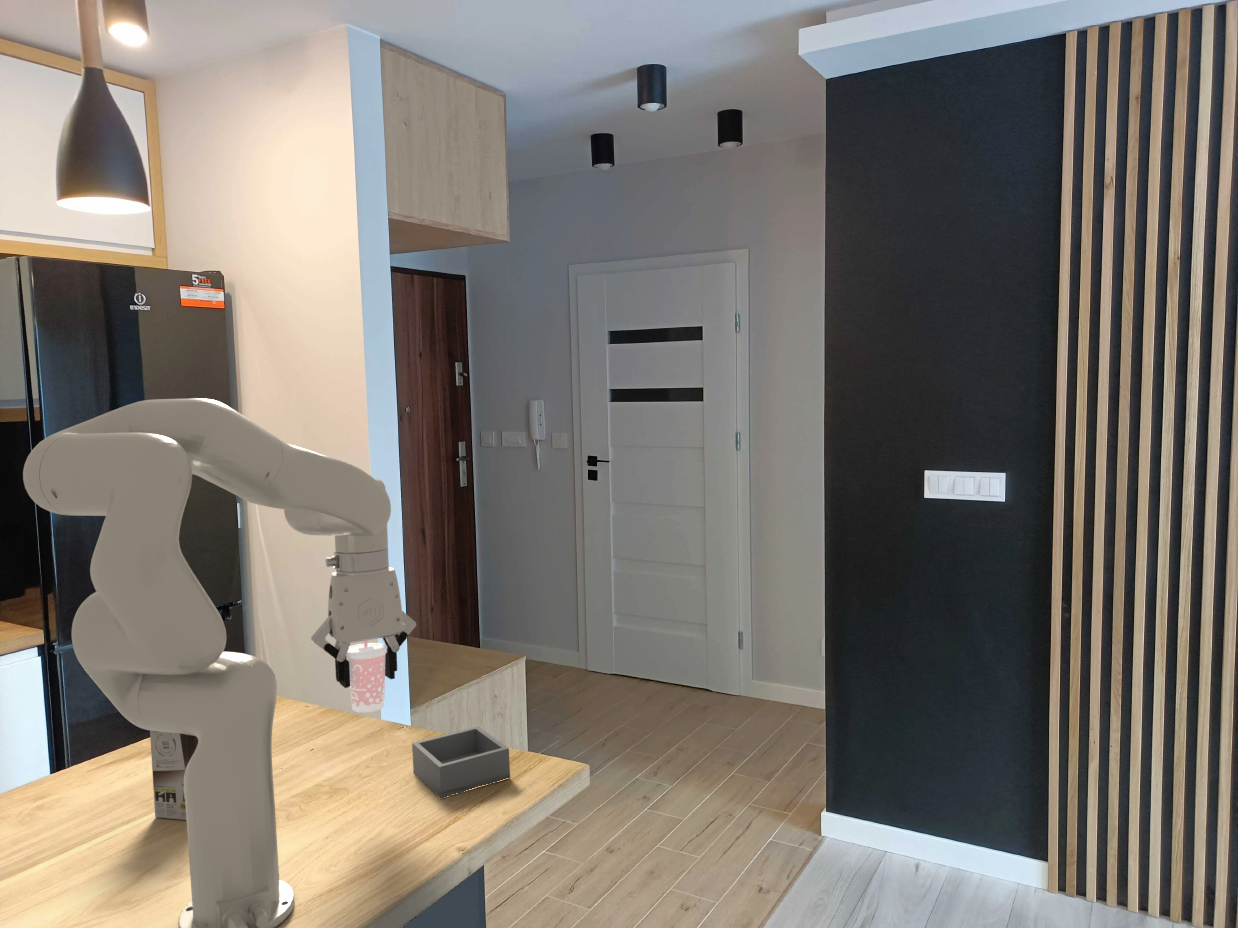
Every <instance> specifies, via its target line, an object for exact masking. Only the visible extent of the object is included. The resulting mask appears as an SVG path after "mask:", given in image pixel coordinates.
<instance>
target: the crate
mask: <svg viewBox="0 0 1238 928" xmlns="http://www.w3.org/2000/svg"><path fill="white" fill-rule="evenodd" d="M411 748H412V768H413V770H412V771H413V774H414V775H415V776H416V777H417V778H418V779H419V780H420V781H422V782H423V783H424V784H425V785H426V786H427V787H428V789H429V790H431V789H432V790H431V791H432V792H433V791H434V792H433V793H434V794H435V793H436V794H437V795H438V796H439V797H440V798H443V799H445V798H444V797H446V798H448V797H447V796H450V795H452V794H456V793H460V794H462V793H461V792H464V791H466V790H469V789H472V788H475V787H478V786H482V785H486V784H490V783H493V782H497V781H500V780H503V779H506V778H509V777H510V778H511V772H510V771H511V769H510V768H511V767H510V747H508V746H506V745H505V744H503V743H502V742H501V741H499V740H498V739H496V738H495V737H494V736H492V735H491V734H489V733H488V732H487V731H486V730H484V729H483V728H481V727H480V726H475V727H470V728H467V729H466V728H465V729H462V730H459V731H455V732H451V733H446V734H443V735H438V736H434V737H430V738H426V739H423V740H422V739H421V740H418V741H414V742H411ZM464 793H465V792H464ZM436 794H435V795H436ZM437 795H436V796H437ZM438 796H437V797H438ZM439 797H438V798H439ZM450 797H451V796H450ZM440 798H439V799H440Z"/></svg>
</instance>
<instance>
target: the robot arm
mask: <svg viewBox="0 0 1238 928" xmlns="http://www.w3.org/2000/svg"><path fill="white" fill-rule="evenodd" d="M22 475H23V476H22V478H23V479H22V480H23V485H24V489H25V490H26V492H27V494H28V496H29V497H30V499H31V500H32V501H33V502H34V503H35V504H36V505H38V506H39V508H42V509H44V510H46V511H48V512H50V513H53V514H56V515H63V516H74V517H75V516H79V517H80V516H81V517H82V516H84V517H85V516H90V517H91V516H92V517H93V516H94V517H100V516H101V517H105V518H104V521H103V523H102V526H101V528H100V532H99V536H98V539H97V542H96V544H95V547H94V551H93V553H92V557H91V561H90V568H89V572H90V573H89V574H90V579H91V582H92V585H93V587H94V589H95V592H93V593H91V594H90V595H89V596H88V597H86V598H85V600H84V601H82V603H81V604H80V605H79V607H78V608H77V610H76V613H75V615H74V617H73V620H72V626H71V641H72V642H71V643H72V649H73V651H74V654H75V656H76V659H77V661H78V663H79V664H80V665H81V667H82V669H84V671H85V672H86V673H87V675H88V676H89V677H90V678H91V680H93V682H94V684H96V685H97V687H98V688H99V689H100V691H102V693H103V694H104V695H105V697H106V698H107V699H108V700H109V701H110V702H111V703H112V705H113V706H114V707H115V709H117V711H118V712H119V713H120V714H121V716H123V717H124V718H125V719H126V720H127V721H128V722H129V723H131V724H133V725H134V726H136V727H138V728H140V729H142V730H146V731H150V730H151V731H158V732H168V733H179V734H186V735H193V736H196V737H197V738H198V745H197V748H196V750H195V752H194V754H193V755H192V757H191V759H190V761H189V763H188V765H187V767H186V770H185V775H184V798H185V806H186V820H185V822H186V831H187V832H186V833H187V847H188V861H189V862H188V863H189V874H190V889H191V891H190V892H191V901H190V902H189V903H188V904H187V905H186V906H185V907H184V908H183V909H182V910H181V913H180V915H179V916H178V922H177V923H178V928H277V927H278V925H280V924H281V923H283V922H284V921H285V919H286V918H287V917H289V916H290V914H291V912H292V911H293V909H294V906H295V892H294V889H293V888H292V886H291V885H290V884H288V883H287V882H285V881H283V880H280V867H279V852H278V849H279V848H278V835H277V821H276V820H277V819H276V803H275V787H274V776H273V775H274V774H273V752H272V751H273V750H272V745H273V744H272V743H273V741H272V740H273V727H274V726H273V724H274V720H275V719H274V718H275V712H276V711H275V710H276V705H277V696H278V683H277V678H276V675H275V672H274V671H273V669H272V668H271V666H269V664H267V662H265V661H264V660H262V659H261V658H259V657H257V656H254V655H250V654H247V653H243V652H236V651H224V650H225V648H226V644H227V630H226V627H225V623H224V621H223V618H222V616H221V614H220V612H219V610H218V609H217V607H216V606H215V604H214V603H213V601H212V600H211V597H209V595H208V593H207V592H206V590H205V589H204V587H203V586H202V584H201V583H200V581H199V579H198V578H197V576H196V575H195V573H194V572H193V570H192V568H191V567H190V564H189V563H188V561H187V560H186V558H185V556H184V555H183V552H182V549H181V546H180V539H179V538H180V530H181V525H182V519H183V515H184V512H185V508H186V504H187V501H188V498H189V496H190V491H191V487H192V483H193V482H192V481H193V475H195V476H197V477H200V478H201V479H203V480H205V481H207V482H209V483H212V484H213V485H216V486H217V487H219V488H222V489H224V490H225V491H227V492H230V493H231V494H233V495H235V496H237V497H239V498H240V499H242V500H244V501H246V502H249V503H251V504H255V505H260V506H263V507H268V508H274V509H277V510H278V509H279V510H283V513H284V517H285V520H286V522H287V524H288V525H289V526H290V527H291V528H292V530H294V531H296V532H298V533H300V534H303V535H309V536H328V537H329V536H334V549H335V550H334V552H333V555H332V556H330V557H326V558H325V565H326V566H325V567H326V568H330V567H332V568H334V570H335V571H334V572H333V571H332V573H331V578H330V582H329V591H328V600H327V601H328V603H327V618H326V619H325V620H324V621H323V623H322V624H321V625H320V626H319V627H318V629H317V630H316V631H314V633H313V635H312V636H311V638H310V640H311V642H312V643H314V644H315V645H317V646H318V647H319V648H320V649H322V650H323V651H324V652H326V653H327V654H329V655H330V656H331V657H333V659H334V665H335V666H334V667H335V668H334V669H335V679H336V682H338V683H339V684H340V685H341V686H342V687H343V688H344V689H348V688H350V669H349V661H348V660H347V657H346V654H347V652H348V649H349V647H350V645H351V644H352V643H353V644H354V643H358V642H364V641H366V640H367V641H370V640H371V641H372V640H379V639H382V641H383V644H385V645H386V646H387V653H386V654H385V678H388V679H389V680H394V679H395V678H396V676H395V675H396V673H395V672H397V671H398V656H397V655H398V652H399V651H400V648H401V646H402V645H403V643H404V642H405V641H406V640H407V638H408V636H409V635H410V634H411V632H413V630H414V629H416V627H417V622H416V621H415V620H414V619H412V618H411V616H409V615H408V614H407V613H406V612H404V611H403V610H402V607H403V606H402V600H401V595H400V587H399V582H398V577H397V573H396V570H395V568H394V567H392V566H389V565H390V564H389V561H390V560H389V540H388V539H389V538H388V533H389V532H388V522H389V521H390V517H391V512H392V511H391V510H392V508H391V507H392V505H391V499H390V496H389V495H388V493H387V491H386V490H387V489H386V485H385V483H384V482H383V481H382V480H381V479H380V478H374V477H373V476H371V475H369V473H367V472H366V471H364V470H362V469H361V468H359V467H357V466H355V465H353V464H351V463H348V462H345V461H342V460H340V459H336V458H333V457H332V456H327V455H324V454H322V453H318V452H315V451H314V450H313V451H312V450H310V449H307V448H303V447H300V446H297V445H293V444H290V443H288V442H285V441H283V440H282V439H280V438H278V437H277V436H275V435H274V434H272V433H271V432H269V431H267V430H266V429H264V428H263V427H261V426H260V425H258V424H257V423H255V422H254V421H252V420H251V419H249V418H248V417H246V416H244V415H243V414H241V413H240V412H238V411H237V410H236V409H233V408H232V407H230V406H229V405H227V404H225V403H223V402H221V401H219V400H215V399H211V398H202V397H201V398H197V397H193V398H164V399H162V398H161V399H159V398H158V399H157V398H156V399H146V400H140V401H136V402H133V403H130V404H126V405H124V406H121V407H119V408H116V409H113V410H110V411H108V412H105V413H103V414H100V415H98V416H95V417H94V418H91V419H88V420H85V421H83V422H80V423H77V424H75V425H73V426H70V427H67V428H65V429H62V430H60V431H58V432H55V433H53V434H50V435H48V436H47V437H45V438H44V439H43V440H41V441H39V442H38V444H36V445H35V447H33V449H32V450H31V452H30V453H29V454H28V456H27V458H26V460H25V463H24V466H23V471H22ZM328 635H329V636H331V637H332V638H334V640H336V641H335V643H334V645H333V644H332V643H330V642H329V641H328V640H326V637H327V636H328Z"/></svg>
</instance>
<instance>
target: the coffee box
mask: <svg viewBox="0 0 1238 928" xmlns="http://www.w3.org/2000/svg"><path fill="white" fill-rule="evenodd" d="M149 736H150V738H149V739H150V749H151V750H150V751H151V752H150V754H151V756H150V757H151V771H152V785H153V786H152V788H153V789H152V790H153V799H154V800H153V801H154V803H153V805H154V816H155V818H158V819H159V818H162V819H169V820H170V819H171V820H172V819H173V820H182V821H186V806H185V798H184V775H185V770H186V767H187V765H188V763H189V761H190V759H191V757H192V755H193V754H194V752H195V750H196V748H197V745H198V738H197V737H196V736H193V735H186V734H179V733H168V732H158V731H151V730H149Z"/></svg>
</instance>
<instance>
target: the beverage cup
mask: <svg viewBox="0 0 1238 928" xmlns="http://www.w3.org/2000/svg"><path fill="white" fill-rule="evenodd" d="M386 653H387V646H386V645H385V643H380V642H368V640H366V641H363V643H358V644H353V645H351V646H349V649H348V652H347V654H346V659H347V660H348V661H349V669H350V686H349V691H350V700H351V708H352V711H353V712H356V713H361V714H362V713H372V712H377V711H380V710H381V709H383V708H384V707H385V689H386V687H385V686H386V676H385V654H386Z"/></svg>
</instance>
